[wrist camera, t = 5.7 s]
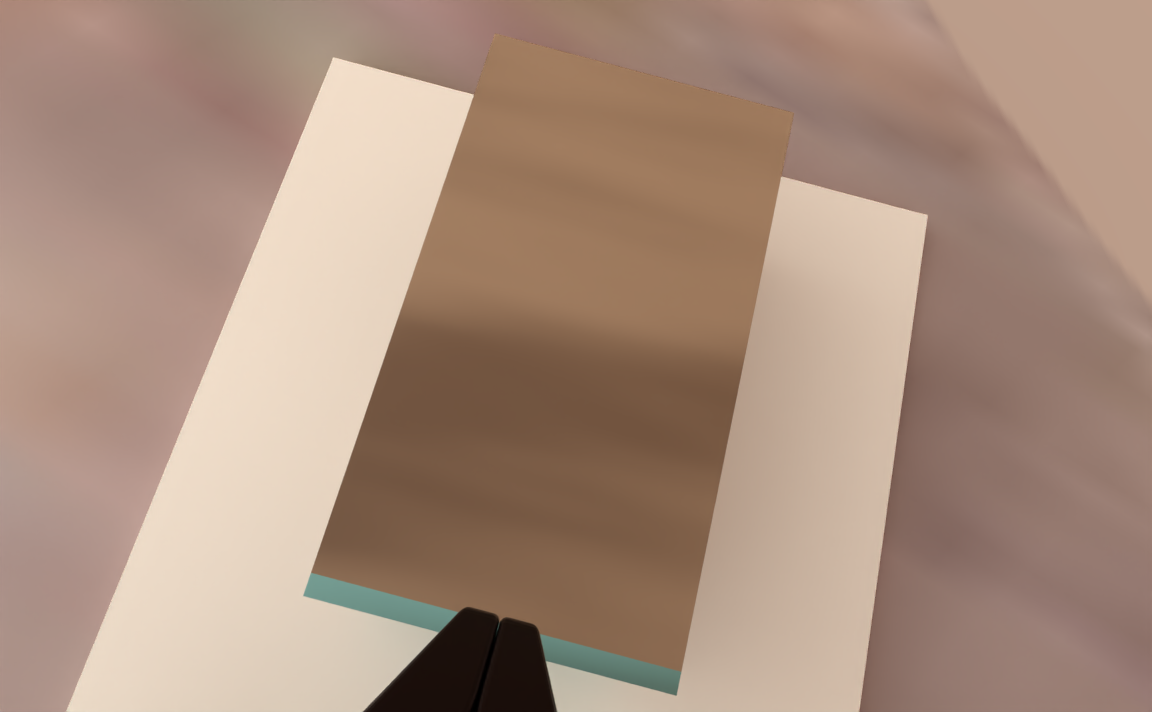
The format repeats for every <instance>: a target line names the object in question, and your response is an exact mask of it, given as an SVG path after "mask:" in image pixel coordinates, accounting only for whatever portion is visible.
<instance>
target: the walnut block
mask: <svg viewBox="0 0 1152 712" xmlns="http://www.w3.org/2000/svg"><path fill="white" fill-rule="evenodd" d="M793 116H794V113H793V112H789V111H785V110H781V109H778V108H774V107H770V106H766V105H763V104H759V103H755V102H751V101H748V100H744V99H740V98H736V97H733V96H729V95H725V94H721V93H717V92H714V91H710V90H706V89H702V88H699V87H695V86H691V85H687V84H684V83H680V82H676V81H672V80H668V79H665V78H661V77H657V76H653V75H650V74H646V73H642V72H638V71H635V70H631V69H627V68H623V67H620V66H616V65H612V64H608V63H604V62H601V61H597V60H593V59H589V58H586V57H582V56H578V55H574V54H571V53H567V52H563V51H559V50H555V49H552V48H548V47H544V46H540V45H537V44H533V43H529V42H525V41H522V40H518V39H514V38H510V37H507V36H503V35H499V34H495V35H494V38H493V41H492V44H491V47H490V50H489V52H488V55H487V58H486V61H485V64H484V67H483V70H482V73H481V76H480V79H479V82H478V85H477V88H476V91H475V93H474V96H473V99H472V102H471V105H470V108H469V111H468V114H467V117H466V120H465V123H464V126H463V129H462V132H461V134H460V137H459V140H458V143H457V146H456V149H455V152H454V155H453V158H452V161H451V164H450V167H449V170H448V173H447V176H446V178H445V181H444V184H443V187H442V190H441V193H440V196H439V199H438V202H437V205H436V208H435V211H434V214H433V217H432V219H431V222H430V225H429V228H428V231H427V234H426V237H425V240H424V243H423V246H422V249H421V252H420V255H419V258H418V260H417V263H416V266H415V269H414V272H413V275H412V278H411V281H410V284H409V287H408V290H407V293H406V296H405V299H404V301H403V304H402V307H401V310H400V313H399V316H398V319H397V322H396V325H395V328H394V331H393V334H392V337H391V340H390V342H389V345H388V348H387V351H386V354H385V357H384V360H383V363H382V366H381V369H380V372H379V375H378V378H377V381H376V384H375V386H374V389H373V392H372V395H371V398H370V401H369V404H368V407H367V410H366V413H365V416H364V419H363V422H362V425H361V427H360V430H359V433H358V436H357V439H356V442H355V445H354V448H353V451H352V454H351V457H350V460H349V463H348V466H347V468H346V471H345V474H344V477H343V480H342V483H341V486H340V489H339V492H338V495H337V498H336V501H335V504H334V507H333V509H332V512H331V515H330V518H329V521H328V524H327V527H326V530H325V533H324V536H323V539H322V542H321V545H320V548H319V551H318V553H317V556H316V559H315V562H314V565H313V568H312V571H311V574H310V577H309V580H308V583H307V586H306V589H305V592H304V594H303V596H305V597H309V598H312V599H316V600H320V601H324V602H327V603H331V604H335V605H339V606H342V607H346V608H350V609H353V610H357V611H361V612H365V613H368V614H372V615H376V616H380V617H383V618H387V619H391V620H395V621H398V622H402V623H406V624H410V625H413V626H417V627H421V628H425V629H428V630H432V631H436V632H440V631H441V630H442V629H443V628H444V627H445V626H446V625H447V624H448V623H449V622H450V621H451V619H452V618H453V617H454V616H455V615H456V614H457V613H458V612H459V611H460V610H462V609H463V608H465V607H472V608H476V609H480V610H483V611H487V612H491V613H494V614H496V615H497V616H498V617H499V623H500V621H501V620H502V619H503V618H505V617H509V618H513V619H517V620H521V621H524V622H528V623H532V624H534V625H536V626H537V628H538V630H539V633H540V637H541V641H542V646H543V650H544V655H545V659H546V661H548V662H552V663H555V664H559V665H563V666H567V667H570V668H574V669H578V670H582V671H585V672H589V673H593V674H597V675H600V676H604V677H608V678H612V679H615V680H619V681H623V682H627V683H630V684H634V685H638V686H642V687H645V688H649V689H653V690H656V691H660V692H664V693H668V694H671V695H675V696H677V691H678V686H679V681H680V676H681V671H682V666H683V661H684V657H685V652H686V647H687V642H688V637H689V632H690V627H691V622H692V617H693V612H694V607H695V602H696V597H697V592H698V587H699V582H700V577H701V572H702V567H703V562H704V557H705V552H706V547H707V542H708V537H709V532H710V528H711V523H712V518H713V513H714V508H715V503H716V498H717V493H718V488H719V483H720V478H721V473H722V468H723V463H724V458H725V453H726V448H727V443H728V438H729V433H730V428H731V423H732V418H733V413H734V408H735V403H736V399H737V394H738V389H739V384H740V379H741V374H742V369H743V364H744V359H745V354H746V349H747V344H748V339H749V334H750V329H751V324H752V319H753V314H754V309H755V304H756V299H757V294H758V289H759V284H760V279H761V274H762V270H763V265H764V260H765V255H766V250H767V245H768V240H769V235H770V230H771V225H772V220H773V215H774V210H775V205H776V200H777V195H778V190H779V185H780V180H781V175H782V170H783V165H784V160H785V155H786V150H787V145H788V141H789V136H790V131H791V126H792V121H793ZM498 627H499V626H498ZM497 630H498V629H497ZM496 634H497V633H496Z"/></svg>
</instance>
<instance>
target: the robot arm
mask: <svg viewBox="0 0 1152 712" xmlns="http://www.w3.org/2000/svg"><path fill="white" fill-rule="evenodd" d="M498 626H499V627H498ZM497 629H498V630H497ZM496 633H497V634H496ZM363 712H557V708H556V704H555V699H554V695H553V690H552V686H551V682H550V677H549V673H548V668H547V664H546V659H545V655H544V650H543V646H542V641H541V637H540V633H539V630H538V628H537V626H536V625H534V624H532V623H528V622H524V621H521V620H517V619H513V618H509V617H505V618H503V619H502V620H501V621H500V623H499V617H498V616H497V615H496V614H494V613H491V612H487V611H483V610H480V609H476V608H472V607H465V608H463V609H462V610H460V611H459V612H458V613H457V614H456V615H455V616H454V617H453V618H452V619H451V621H450V622H449V623H448V624H447V625H446V626H445V627H444V628H443V629H442V630H441V631H440V632H439V633H438V634H437V635H436V636H435V637H434V638H433V639H432V640H431V641H430V642H429V643H428V644H427V645H426V646H425V647H424V649H423V650H422V651H421V652H420V653H419V654H418V655H417V656H416V657H415V658H414V659H413V660H412V661H411V662H410V663H409V664H408V665H407V666H406V667H405V668H404V669H403V670H402V671H401V672H400V673H399V674H398V675H397V676H396V678H395V679H394V680H393V681H392V682H391V683H390V684H389V685H388V686H387V687H386V688H385V689H384V690H383V691H382V692H381V693H380V694H379V695H378V696H377V697H376V698H375V699H374V700H373V701H372V702H371V703H370V704H369V706H368V707H367V708H366V709H365V710H364V711H363Z"/></svg>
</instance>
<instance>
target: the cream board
mask: <svg viewBox="0 0 1152 712" xmlns="http://www.w3.org/2000/svg"><path fill="white" fill-rule="evenodd" d="M473 96H474V95H473V94H469V93H465V92H462V91H458V90H454V89H450V88H447V87H443V86H439V85H435V84H432V83H428V82H424V81H420V80H417V79H413V78H409V77H405V76H402V75H398V74H394V73H390V72H386V71H383V70H379V69H375V68H371V67H368V66H364V65H360V64H356V63H353V62H349V61H345V60H341V59H338V58H334V57H333V60H332V62H331V65H330V67H329V70H328V72H327V75H326V77H325V79H324V82H323V84H322V87H321V89H320V92H319V94H318V97H317V99H316V101H315V104H314V106H313V109H312V111H311V114H310V116H309V119H308V121H307V123H306V126H305V128H304V131H303V133H302V136H301V138H300V141H299V143H298V146H297V148H296V150H295V153H294V155H293V158H292V160H291V163H290V165H289V168H288V170H287V172H286V175H285V177H284V180H283V182H282V185H281V187H280V190H279V192H278V194H277V197H276V199H275V202H274V204H273V207H272V209H271V212H270V214H269V216H268V219H267V221H266V224H265V226H264V229H263V231H262V234H261V236H260V239H259V241H258V243H257V246H256V248H255V251H254V253H253V256H252V258H251V261H250V263H249V265H248V268H247V270H246V273H245V275H244V278H243V280H242V283H241V285H240V287H239V290H238V292H237V295H236V297H235V300H234V302H233V305H232V307H231V309H230V312H229V314H228V317H227V319H226V322H225V324H224V327H223V329H222V332H221V334H220V336H219V339H218V341H217V344H216V346H215V349H214V351H213V354H212V356H211V358H210V361H209V363H208V366H207V368H206V371H205V373H204V376H203V378H202V380H201V383H200V385H199V388H198V390H197V393H196V395H195V398H194V400H193V402H192V405H191V407H190V410H189V412H188V415H187V417H186V420H185V422H184V425H183V427H182V429H181V432H180V434H179V437H178V439H177V442H176V444H175V447H174V449H173V451H172V454H171V456H170V459H169V461H168V464H167V466H166V469H165V471H164V473H163V476H162V478H161V481H160V483H159V486H158V488H157V491H156V493H155V495H154V498H153V500H152V503H151V505H150V508H149V510H148V513H147V515H146V518H145V520H144V522H143V525H142V527H141V530H140V532H139V535H138V537H137V540H136V542H135V544H134V547H133V549H132V552H131V554H130V557H129V559H128V562H127V564H126V566H125V569H124V571H123V574H122V576H121V579H120V581H119V584H118V586H117V588H116V591H115V593H114V596H113V598H112V601H111V603H110V606H109V608H108V610H107V613H106V615H105V618H104V620H103V623H102V625H101V628H100V630H99V633H98V635H97V637H96V640H95V642H94V645H93V647H92V650H91V652H90V655H89V657H88V659H87V662H86V664H85V667H84V669H83V672H82V674H81V677H80V679H79V681H78V684H77V686H76V689H75V691H74V694H73V696H72V699H71V701H70V703H69V706H68V708H67V711H66V712H363V711H364V710H365V709H366V708H367V707H368V706H369V704H370V703H371V702H372V701H373V700H374V699H375V698H376V697H377V696H378V695H379V694H380V693H381V692H382V691H383V690H384V689H385V688H386V687H387V686H388V685H389V684H390V683H391V682H392V681H393V680H394V679H395V678H396V676H397V675H398V674H399V673H400V672H401V671H402V670H403V669H404V668H405V667H406V666H407V665H408V664H409V663H410V662H411V661H412V660H413V659H414V658H415V657H416V656H417V655H418V654H419V653H420V652H421V651H422V650H423V649H424V647H425V646H426V645H427V644H428V643H429V642H430V641H431V640H432V639H433V638H434V637H435V636H436V635H437V634H438V633H439V632H436V631H432V630H428V629H425V628H421V627H417V626H413V625H410V624H406V623H402V622H398V621H395V620H391V619H387V618H383V617H380V616H376V615H372V614H368V613H365V612H361V611H357V610H353V609H350V608H346V607H342V606H339V605H335V604H331V603H327V602H324V601H320V600H316V599H312V598H309V597H305V596H303V594H304V592H305V589H306V586H307V583H308V580H309V577H310V574H311V571H312V568H313V565H314V562H315V559H316V556H317V553H318V551H319V548H320V545H321V542H322V539H323V536H324V533H325V530H326V527H327V524H328V521H329V518H330V515H331V512H332V509H333V507H334V504H335V501H336V498H337V495H338V492H339V489H340V486H341V483H342V480H343V477H344V474H345V471H346V468H347V466H348V463H349V460H350V457H351V454H352V451H353V448H354V445H355V442H356V439H357V436H358V433H359V430H360V427H361V425H362V422H363V419H364V416H365V413H366V410H367V407H368V404H369V401H370V398H371V395H372V392H373V389H374V386H375V384H376V381H377V378H378V375H379V372H380V369H381V366H382V363H383V360H384V357H385V354H386V351H387V348H388V345H389V342H390V340H391V337H392V334H393V331H394V328H395V325H396V322H397V319H398V316H399V313H400V310H401V307H402V304H403V301H404V299H405V296H406V293H407V290H408V287H409V284H410V281H411V278H412V275H413V272H414V269H415V266H416V263H417V260H418V258H419V255H420V252H421V249H422V246H423V243H424V240H425V237H426V234H427V231H428V228H429V225H430V222H431V219H432V217H433V214H434V211H435V208H436V205H437V202H438V199H439V196H440V193H441V190H442V187H443V184H444V181H445V178H446V176H447V173H448V170H449V167H450V164H451V161H452V158H453V155H454V152H455V149H456V146H457V143H458V140H459V137H460V134H461V132H462V129H463V126H464V123H465V120H466V117H467V114H468V111H469V108H470V105H471V102H472V99H473ZM927 217H928V215H925V214H921V213H917V212H913V211H910V210H906V209H902V208H898V207H895V206H891V205H887V204H883V203H880V202H876V201H872V200H868V199H864V198H861V197H857V196H853V195H849V194H846V193H842V192H838V191H834V190H831V189H827V188H823V187H819V186H816V185H812V184H808V183H804V182H800V181H797V180H793V179H789V178H785V177H782V176H781V180H780V185H779V190H778V195H777V200H776V205H775V210H774V215H773V220H772V225H771V230H770V235H769V240H768V245H767V250H766V255H765V260H764V265H763V270H762V274H761V279H760V284H759V289H758V294H757V299H756V304H755V309H754V314H753V319H752V324H751V329H750V334H749V339H748V344H747V349H746V354H745V359H744V364H743V369H742V374H741V379H740V384H739V389H738V394H737V399H736V403H735V408H734V413H733V418H732V423H731V428H730V433H729V438H728V443H727V448H726V453H725V458H724V463H723V468H722V473H721V478H720V483H719V488H718V493H717V498H716V503H715V508H714V513H713V518H712V523H711V528H710V532H709V537H708V542H707V547H706V552H705V557H704V562H703V567H702V572H701V577H700V582H699V587H698V592H697V597H696V602H695V607H694V612H693V617H692V622H691V627H690V632H689V637H688V642H687V647H686V652H685V657H684V661H683V666H682V671H681V676H680V681H679V686H678V691H677V696H675V695H671V694H668V693H664V692H660V691H656V690H653V689H649V688H645V687H642V686H638V685H634V684H630V683H627V682H623V681H619V680H615V679H612V678H608V677H604V676H600V675H597V674H593V673H589V672H585V671H582V670H578V669H574V668H570V667H567V666H563V665H559V664H555V663H552V662H548V661H546V664H547V668H548V673H549V677H550V682H551V686H552V690H553V695H554V699H555V704H556V708H557V712H859V709H860V702H861V694H862V687H863V680H864V673H865V666H866V658H867V651H868V644H869V637H870V629H871V622H872V615H873V608H874V600H875V593H876V586H877V579H878V571H879V564H880V557H881V550H882V543H883V535H884V528H885V521H886V514H887V506H888V499H889V492H890V485H891V477H892V470H893V463H894V456H895V448H896V441H897V434H898V427H899V420H900V412H901V405H902V398H903V391H904V383H905V376H906V369H907V362H908V354H909V347H910V340H911V333H912V325H913V318H914V311H915V304H916V297H917V289H918V282H919V275H920V268H921V260H922V253H923V246H924V239H925V231H926V224H927Z"/></svg>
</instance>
